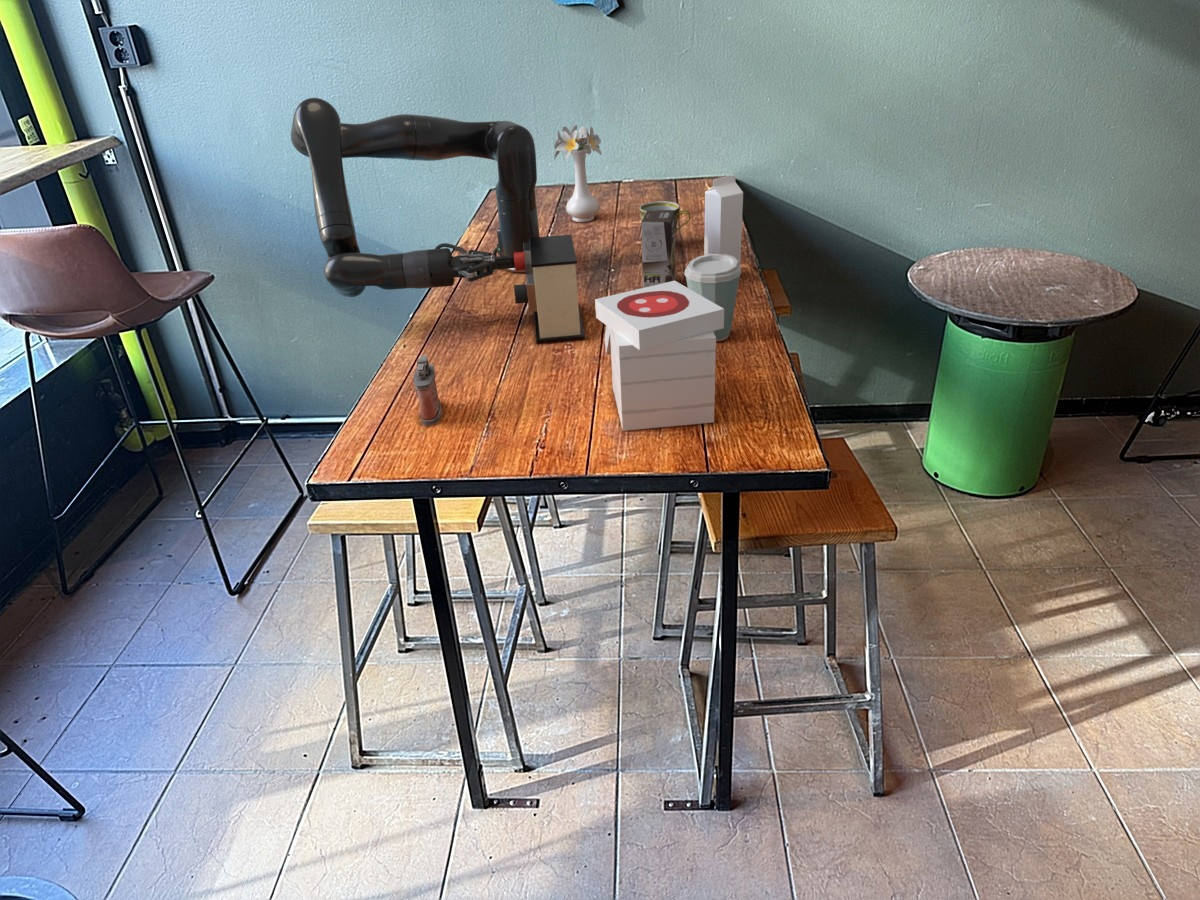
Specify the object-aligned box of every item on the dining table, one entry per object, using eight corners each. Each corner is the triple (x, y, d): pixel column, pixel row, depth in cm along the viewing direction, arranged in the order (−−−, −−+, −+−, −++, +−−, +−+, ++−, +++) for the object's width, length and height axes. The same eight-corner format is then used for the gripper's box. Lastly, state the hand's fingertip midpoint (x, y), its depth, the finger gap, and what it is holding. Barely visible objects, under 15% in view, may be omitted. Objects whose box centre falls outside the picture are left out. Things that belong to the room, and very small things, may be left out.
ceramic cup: (634, 250, 207) (633, 211, 202) (647, 238, 215) (647, 200, 210) (684, 254, 203) (684, 214, 198) (695, 242, 211) (696, 202, 205)
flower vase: (602, 208, 242) (597, 117, 229) (607, 226, 226) (602, 130, 213) (557, 211, 241) (550, 121, 228) (560, 229, 226) (552, 134, 213)
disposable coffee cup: (725, 351, 155) (727, 274, 147) (674, 340, 160) (674, 266, 152) (747, 330, 163) (751, 256, 155) (698, 321, 168) (699, 249, 160)
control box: (532, 344, 162) (524, 266, 154) (530, 310, 177) (522, 237, 169) (585, 339, 163) (579, 261, 154) (578, 306, 178) (573, 233, 169)
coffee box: (671, 294, 181) (670, 221, 172) (642, 294, 182) (640, 221, 174) (676, 279, 188) (676, 209, 180) (648, 279, 190) (646, 209, 181)
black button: (515, 306, 161) (513, 288, 159) (515, 299, 164) (513, 282, 162) (528, 305, 161) (526, 287, 159) (527, 298, 164) (526, 281, 162)
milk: (740, 276, 189) (744, 177, 177) (718, 281, 186) (722, 182, 174) (724, 268, 193) (727, 172, 181) (702, 274, 191) (705, 176, 179)
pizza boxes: (692, 349, 157) (693, 257, 147) (728, 427, 131) (732, 322, 122) (592, 358, 156) (586, 265, 146) (609, 439, 130) (603, 333, 121)
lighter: (423, 403, 144) (413, 351, 138) (443, 401, 144) (433, 349, 139) (418, 426, 137) (408, 372, 132) (439, 424, 137) (429, 370, 132)
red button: (515, 273, 166) (513, 256, 164) (515, 267, 169) (513, 250, 168) (527, 272, 166) (525, 255, 165) (527, 266, 170) (525, 249, 168)
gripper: (434, 275, 174) (516, 268, 175) (429, 298, 162) (516, 290, 163) (428, 240, 170) (512, 233, 171) (422, 261, 158) (512, 254, 159)
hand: (514, 261), depth 167 cm, fingers closed
